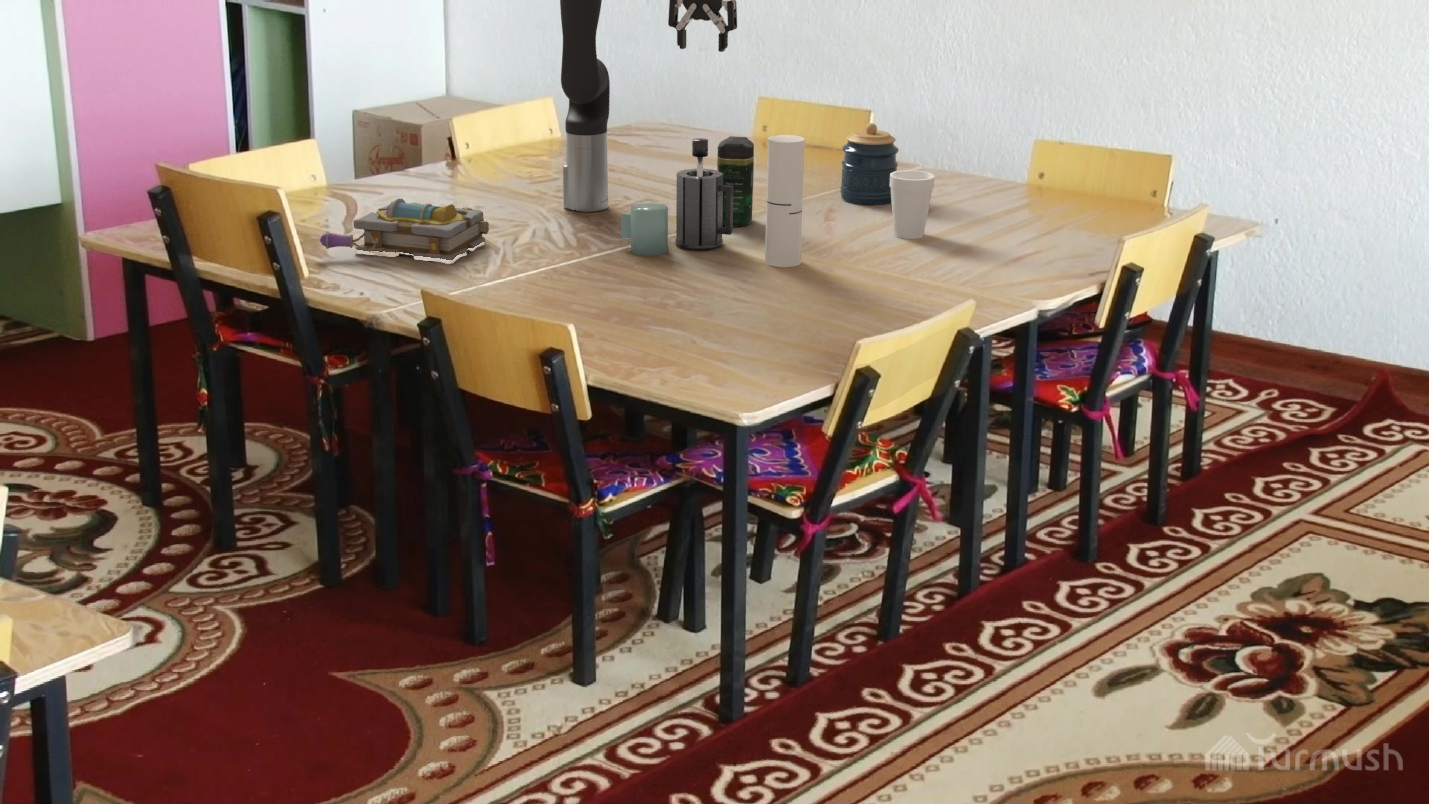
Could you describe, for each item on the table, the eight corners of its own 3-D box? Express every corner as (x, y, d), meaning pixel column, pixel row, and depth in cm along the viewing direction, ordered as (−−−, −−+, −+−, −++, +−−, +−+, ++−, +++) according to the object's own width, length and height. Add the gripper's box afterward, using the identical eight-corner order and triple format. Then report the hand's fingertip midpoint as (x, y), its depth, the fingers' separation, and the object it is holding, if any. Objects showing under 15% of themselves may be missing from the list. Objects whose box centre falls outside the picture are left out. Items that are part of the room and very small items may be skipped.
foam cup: (935, 231, 340) (938, 172, 335) (925, 242, 332) (929, 181, 327) (891, 227, 343) (895, 168, 338) (881, 238, 334) (885, 177, 330)
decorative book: (380, 232, 337) (377, 183, 333) (494, 242, 329) (491, 192, 326) (318, 262, 314) (314, 210, 311) (439, 273, 307) (435, 220, 303)
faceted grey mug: (668, 248, 325) (668, 176, 320) (685, 236, 334) (685, 166, 328) (723, 254, 321) (724, 181, 316) (738, 242, 330) (739, 171, 325)
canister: (905, 197, 369) (909, 122, 362) (880, 208, 358) (884, 131, 352) (856, 189, 375) (859, 115, 369) (829, 200, 365) (833, 124, 358)
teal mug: (615, 252, 322) (614, 209, 318) (629, 243, 328) (628, 200, 325) (659, 257, 319) (659, 214, 315) (673, 247, 325) (673, 205, 322)
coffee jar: (750, 228, 340) (752, 143, 334) (713, 227, 341) (715, 142, 334) (754, 217, 349) (756, 134, 343) (718, 216, 350) (720, 133, 343)
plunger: (687, 225, 325) (687, 141, 319) (693, 221, 329) (694, 137, 322) (705, 227, 324) (706, 142, 318) (711, 222, 327) (712, 138, 321)
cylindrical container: (763, 257, 319) (766, 134, 310) (798, 257, 320) (802, 134, 311) (767, 267, 313) (770, 142, 304) (802, 266, 313) (806, 142, 304)
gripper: (663, -31, 319) (663, 50, 325) (730, -28, 314) (729, 54, 320) (676, -35, 325) (676, 45, 331) (742, -32, 321) (740, 49, 327)
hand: (702, 49), depth 326 cm, fingers open, 8 cm apart
